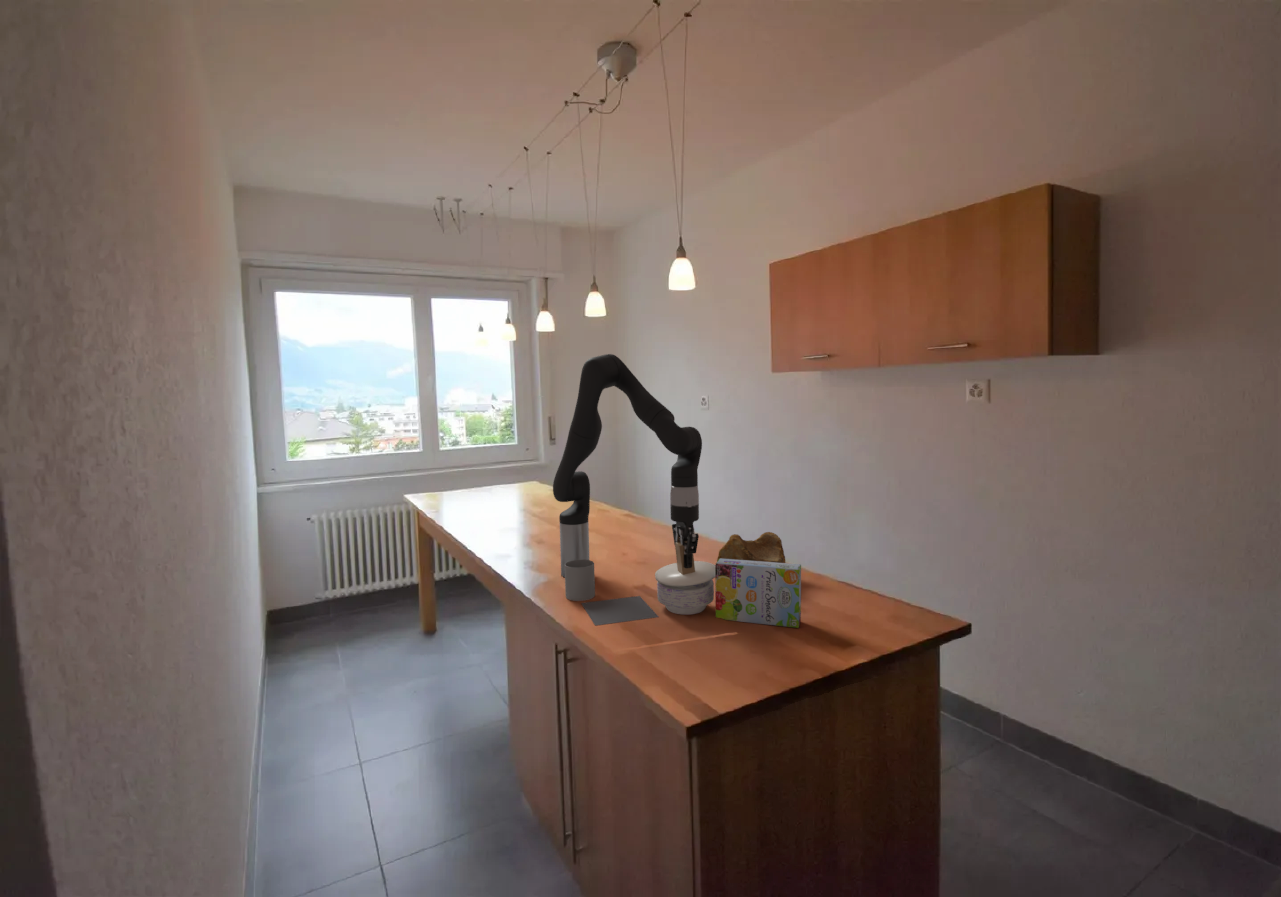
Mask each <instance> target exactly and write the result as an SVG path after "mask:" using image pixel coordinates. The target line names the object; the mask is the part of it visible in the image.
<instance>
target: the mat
mask: <svg viewBox="0 0 1281 897" xmlns="http://www.w3.org/2000/svg"><path fill="white" fill-rule="evenodd" d="M580 604H581V606H582V607H583V608H584V610H585V612H586V614H587V615H588V617H589V619H590V620H591V622H592V623H593V625H594V626H596V627H597V626H603V625H612V624H617V623H619V624H620V623H625V622H635V621H641V620H649V619H654V618H655V619H656V618H659V617H660V616H659V615H658V614H657V613H656V612H655V610H654V609H652V608H651V607H650V605H649V604H647V602H646V601H645V600H644V599H643V597H642V596H640V595H637V596H628V597H618V598H609V599H604V600H597V601H596V600H595V601H587V602H586V601H585V602H581V603H580Z"/></svg>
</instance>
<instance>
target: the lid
mask: <svg viewBox="0 0 1281 897" xmlns="http://www.w3.org/2000/svg"><path fill="white" fill-rule="evenodd" d="M684 542H687V541H684ZM686 547H687V546H686ZM674 550H675V557H676V562H674V563H670V564H667V565H663V566H662V567H660V568H658V569H657V570H656V571H655V574H654V578H655V581H657V582H659V583H661V584H664V585H669V586H690V585H697V584H701V583H704V582H707V581H710V580H713V579H715V565H716V564H714V563H711V562H708V561H703V560H695V557H694V553H693V554H692V568H684V553H683V546H682V545H681V542H675V545H674Z"/></svg>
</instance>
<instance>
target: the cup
mask: <svg viewBox="0 0 1281 897" xmlns="http://www.w3.org/2000/svg"><path fill="white" fill-rule="evenodd" d="M595 580H596V578H595V562H594V560H590V559H589V560H584V559H583V560H572V561H568V562H566V563H565V577H564V584H565V585H564V587H565V588H564V589H565V598H566V599H567V600H569V601H574V602H580V601H581V602H582V601H583V602H584V601H589V600H592V599H594V597H595V596H596V588H595V587H596V585H595V584H596V582H595Z"/></svg>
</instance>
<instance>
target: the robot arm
mask: <svg viewBox="0 0 1281 897" xmlns="http://www.w3.org/2000/svg"><path fill="white" fill-rule="evenodd" d="M582 366H583V367H582V368H581V375H580V377H579V379H580V380H579V385H578V386H579V387H578V393H577V394H578V395H577V399H576V404H575V407H574V408H575V409H574V411H573V417H572V420H571V423H570V426H569V430H568V435H567V439H566V443H565V446H564V451H563V454H562V457H561V461H560V462H559V465H558V468H557V470H556V473H555V476H554V479H553V483H552V493H553V497H554V499H555V500H556V501H557V502H560V503H569V502H572V504H571V505H570V506H569V507H568V508H567V509H565V510H563V511H562V512H560V514H559V543H560V544H559V546H560V547H559V548H560V575H561V576H562V577H564V578H565V563H566V562H568V561H572V560H583V559H584V560H590V532H589V531H590V528H589V525H590V524H589V516H590V509H591V508H590V507H591V506H590V503H591V501H590V499H591V484H590V478H589V476H588V474H587V473H586V472H585V471H582V470H581V471H580V470H579V471H577V469H578V468H579V466H581V465H582V464H583V463H584V461H585V460H587V459H588V457H589V456H591V455H592V453H593V452H594V451H595V449H596V448H597V445H598V443H599V440H600V437H601V435H602V434H601V433H602V429H603V425H602V424H603V422H602V419H601V416H600V413H599V409H598V406H599V401H600V399H601V398H600V397H601V395H602V393H603V391H604V390H605V389H608V388H611V387H615V388H617V389H619V390H620V391H622V392H623V393H624V394H625V395H626V396H627V398H628V400H629V402H630V403H631V404H630V405H631V407H632V410H633V412H634V414H635V415H636V416H637V418H638V419H639V420H640V421H641V422H642V423H643V424H645V426H647V427H648V429H650V430H651V431H653V432H654V433H655V435H656V437H657V439H658V440H659V441H660V443H661V444H662V445H663V446H664V448H666V449H667V450H668V451H669V452H670V453H671V454H674V455H677V458H676V459H677V460H676V462H675V463H674V464H673V465H672V466H671V471H670V478H671V479H670V495H669V496H670V500H669V502H670V520H671V521H673V522H675V523H673V524H672V525H671V529H672V537H673V544H674V546H675V542H681V545H682V546H683V553H684V568H692V554H693V555H694V554H696V553H697V549H698V542H699V533H695V526H694V522H697V521H699V519H700V511H699V510H700V501H699V500H700V497H699V496H700V494H699V487H698V486H699V479H698V468H699V465H700V464H699V463H700V460H701V455H702V450H703V449H702V448H703V439H702V436H701V433H700V431H699V430H698V428H696V427H693V426H683V427H681V426H679V425H678V424H677V423H676V422H675V416H674V413H673V412H672V411H670V409H669V408H667V407H666V406H665V405H663V404H662V402H660V401H659V400H658V399H657V398H655V397H654V396H653V395H652V394H651V393H650V392H649V391H648V390H647V389H646V388H645V387H644V385H643V384H642V383H641V382H640V380H638V378H637V377H636V376H635V375H634V374H633V372H632V371H631V370H630V368H629V367H628V366H627V365H626V364H625V363H624V361H623V360H621V358H619V356H617V355H615V354H612V353H608V354H607V353H606V354H602V355H598V356H593V357H590V358H588V359H587V360H586V361H585V362H584V363H583V365H582ZM684 541H687V542H684ZM686 546H687V547H686Z"/></svg>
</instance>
